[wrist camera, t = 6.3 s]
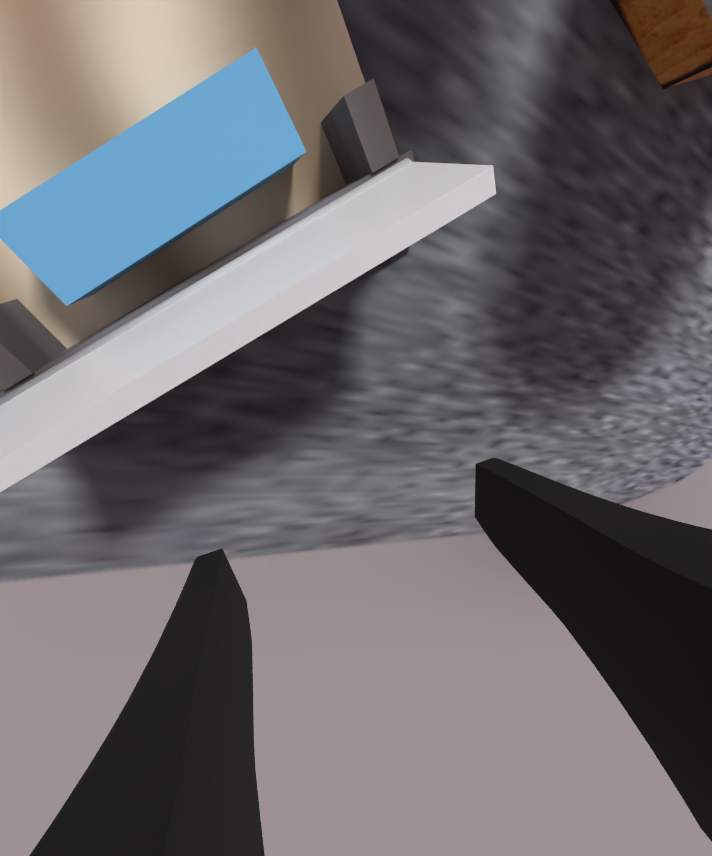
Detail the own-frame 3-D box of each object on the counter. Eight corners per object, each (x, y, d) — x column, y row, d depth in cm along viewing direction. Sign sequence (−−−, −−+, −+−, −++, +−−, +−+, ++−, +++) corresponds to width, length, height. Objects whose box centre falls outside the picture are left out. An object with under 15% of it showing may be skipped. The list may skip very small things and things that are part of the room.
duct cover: (3, 392, 11) (29, 410, 12) (-67, 493, 8) (-26, 512, 8) (400, 158, 12) (408, 185, 12) (492, 160, 8) (496, 198, 9)
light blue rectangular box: (91, 295, 13) (66, 306, 11) (25, 224, 12) (-18, 221, 10) (292, 165, 13) (306, 151, 11) (250, 80, 12) (256, 47, 10)
